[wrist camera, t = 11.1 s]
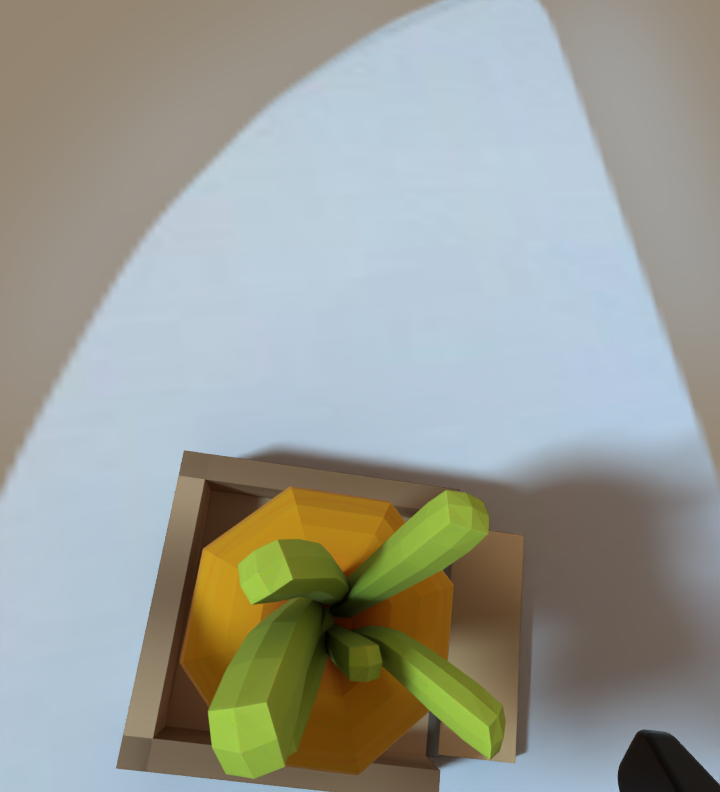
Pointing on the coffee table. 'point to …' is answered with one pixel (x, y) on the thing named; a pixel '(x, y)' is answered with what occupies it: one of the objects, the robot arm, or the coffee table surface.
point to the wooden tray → (162, 646)
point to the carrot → (333, 632)
